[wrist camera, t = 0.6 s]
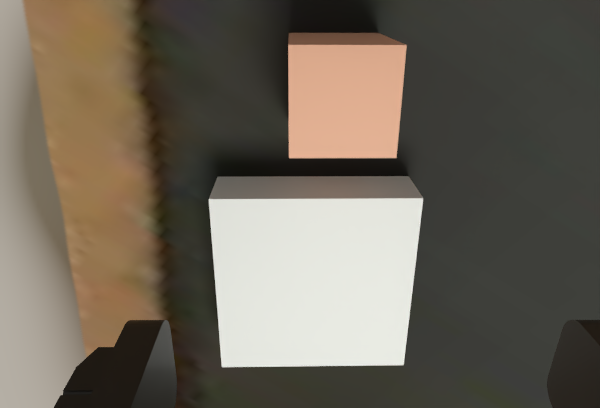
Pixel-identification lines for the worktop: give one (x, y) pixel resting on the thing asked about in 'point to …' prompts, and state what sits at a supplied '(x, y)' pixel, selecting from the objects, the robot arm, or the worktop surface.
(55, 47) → the worktop surface
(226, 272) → the white block
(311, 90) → the terracotta block
